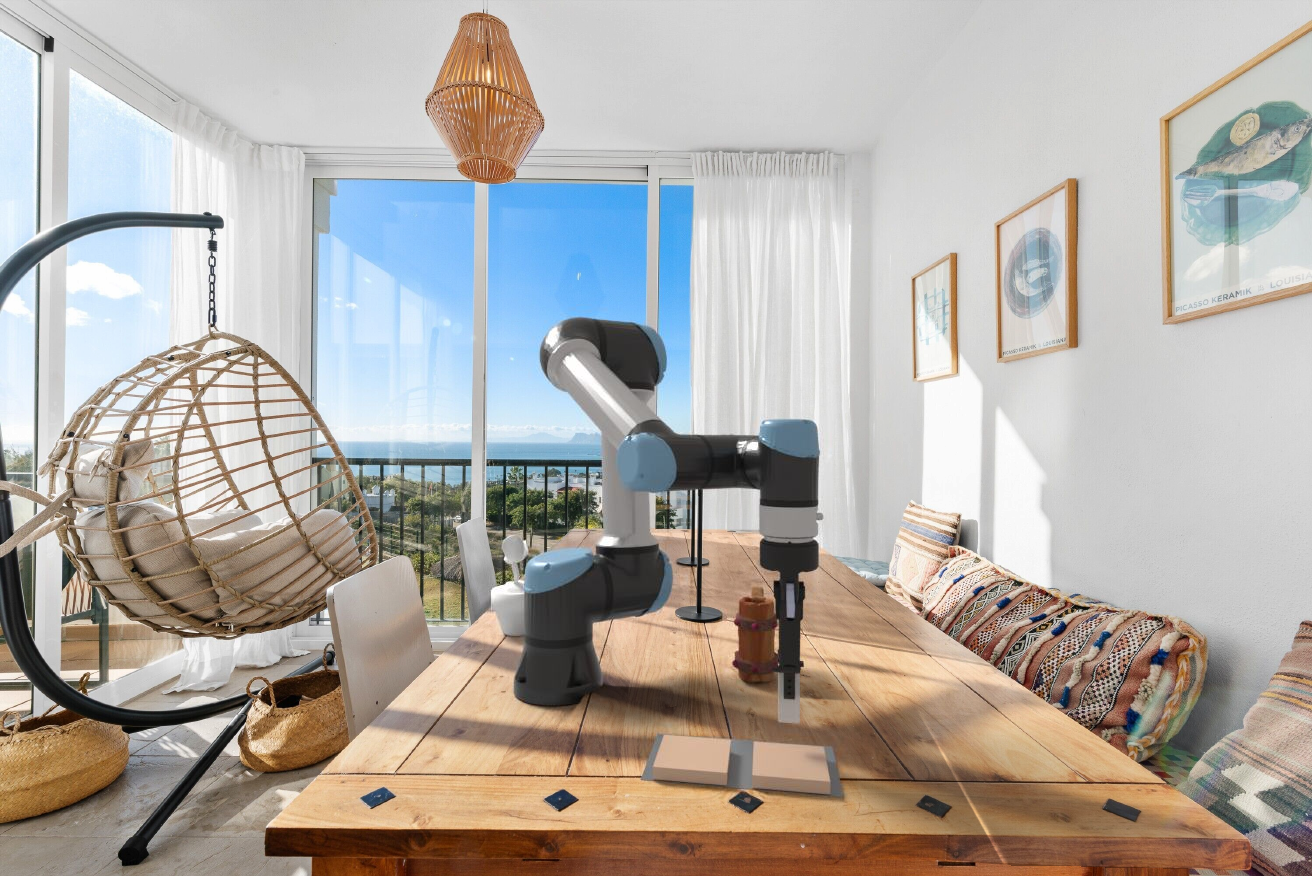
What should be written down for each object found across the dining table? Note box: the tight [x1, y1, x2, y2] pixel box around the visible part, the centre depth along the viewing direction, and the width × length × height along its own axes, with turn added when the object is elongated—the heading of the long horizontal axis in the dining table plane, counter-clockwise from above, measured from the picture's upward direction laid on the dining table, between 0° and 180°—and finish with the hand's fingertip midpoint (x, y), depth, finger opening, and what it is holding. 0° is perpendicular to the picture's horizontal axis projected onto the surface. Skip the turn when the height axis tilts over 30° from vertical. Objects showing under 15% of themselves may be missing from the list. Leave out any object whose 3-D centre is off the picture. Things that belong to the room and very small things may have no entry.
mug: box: [731, 586, 779, 684], centre depth 122 cm, size 15×8×15 cm, turn 168°
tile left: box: [653, 734, 731, 785], centre depth 85 cm, size 9×2×9 cm
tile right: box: [752, 741, 830, 794], centre depth 83 cm, size 9×2×9 cm
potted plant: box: [490, 524, 540, 637], centre depth 148 cm, size 13×12×25 cm
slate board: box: [640, 733, 844, 799], centre depth 86 cm, size 24×13×1 cm, turn 81°
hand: (788, 720), depth 86 cm, fingers closed
